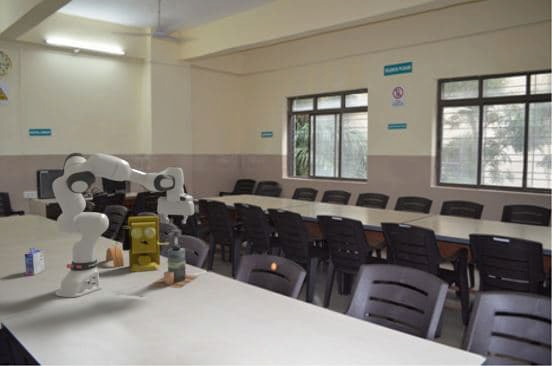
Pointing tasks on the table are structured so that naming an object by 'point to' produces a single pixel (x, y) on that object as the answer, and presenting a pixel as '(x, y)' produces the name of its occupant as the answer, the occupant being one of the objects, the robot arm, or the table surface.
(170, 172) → the robot arm
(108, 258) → the arch
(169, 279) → the pink egg shape
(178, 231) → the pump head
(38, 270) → the ink cartridge box
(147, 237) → the vintage telephone
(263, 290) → the table surface
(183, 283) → the stand
